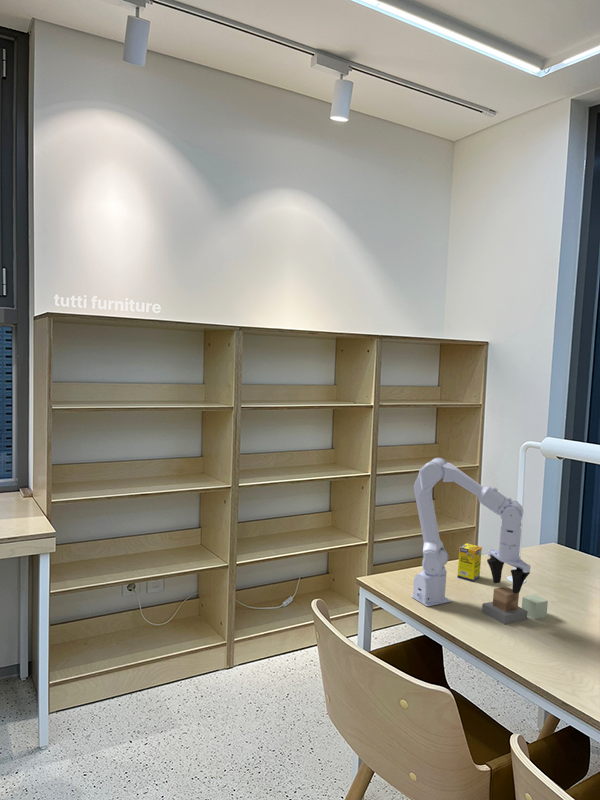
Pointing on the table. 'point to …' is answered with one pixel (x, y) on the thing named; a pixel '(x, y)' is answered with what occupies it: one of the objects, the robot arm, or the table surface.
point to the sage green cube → (535, 606)
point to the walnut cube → (505, 599)
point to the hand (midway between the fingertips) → (506, 587)
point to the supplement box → (469, 562)
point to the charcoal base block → (504, 613)
